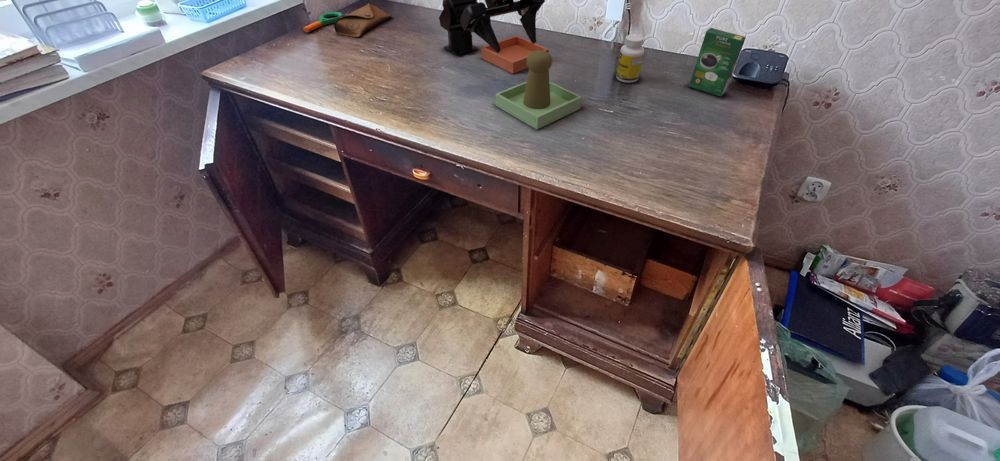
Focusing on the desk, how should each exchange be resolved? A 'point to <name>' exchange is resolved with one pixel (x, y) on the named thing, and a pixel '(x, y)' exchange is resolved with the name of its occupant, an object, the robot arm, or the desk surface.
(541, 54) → the olive pepper mill
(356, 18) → the sunglasses case
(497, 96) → the sage tray
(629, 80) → the supplement bottle
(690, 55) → the desk surface
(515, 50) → the terracotta tray
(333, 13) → the magnifying glass
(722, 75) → the coffee box
